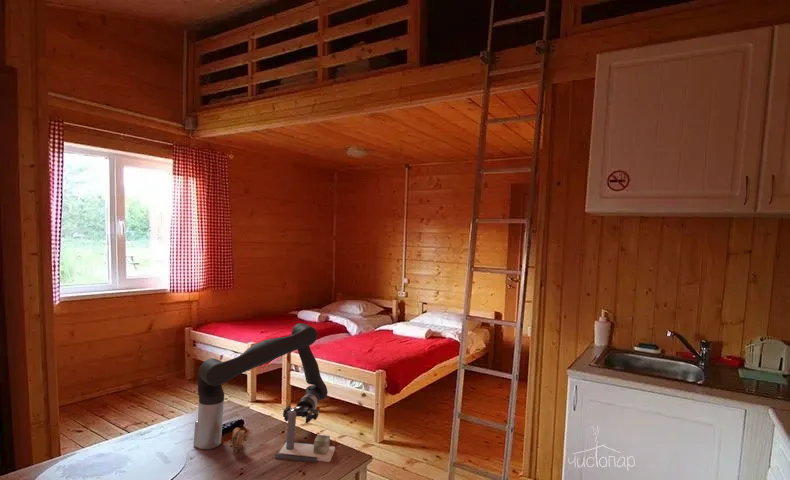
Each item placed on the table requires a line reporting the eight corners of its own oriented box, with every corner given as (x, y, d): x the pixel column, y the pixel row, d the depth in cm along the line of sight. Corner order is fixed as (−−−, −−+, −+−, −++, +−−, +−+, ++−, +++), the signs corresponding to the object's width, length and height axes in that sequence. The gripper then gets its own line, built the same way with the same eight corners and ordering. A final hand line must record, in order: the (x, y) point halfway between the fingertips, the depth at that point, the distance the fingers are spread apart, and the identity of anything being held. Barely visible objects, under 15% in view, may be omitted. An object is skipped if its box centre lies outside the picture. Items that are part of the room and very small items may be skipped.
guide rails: (274, 458, 158) (274, 454, 158) (284, 444, 169) (284, 440, 169) (316, 463, 157) (316, 458, 157) (323, 448, 168) (323, 444, 168)
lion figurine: (248, 455, 159) (250, 431, 159) (234, 458, 156) (235, 434, 156) (238, 439, 171) (240, 417, 171) (225, 441, 168) (226, 419, 168)
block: (313, 453, 160) (314, 440, 160) (316, 447, 165) (317, 434, 165) (326, 454, 160) (327, 441, 160) (329, 448, 165) (329, 435, 165)
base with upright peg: (278, 456, 159) (281, 416, 159) (286, 445, 168) (288, 407, 168) (329, 462, 158) (332, 420, 158) (334, 450, 167) (337, 411, 167)
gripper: (292, 395, 187) (279, 409, 170) (323, 398, 186) (314, 412, 169) (290, 412, 186) (278, 427, 170) (322, 415, 186) (312, 430, 169)
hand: (296, 419), depth 170 cm, fingers open, 8 cm apart
